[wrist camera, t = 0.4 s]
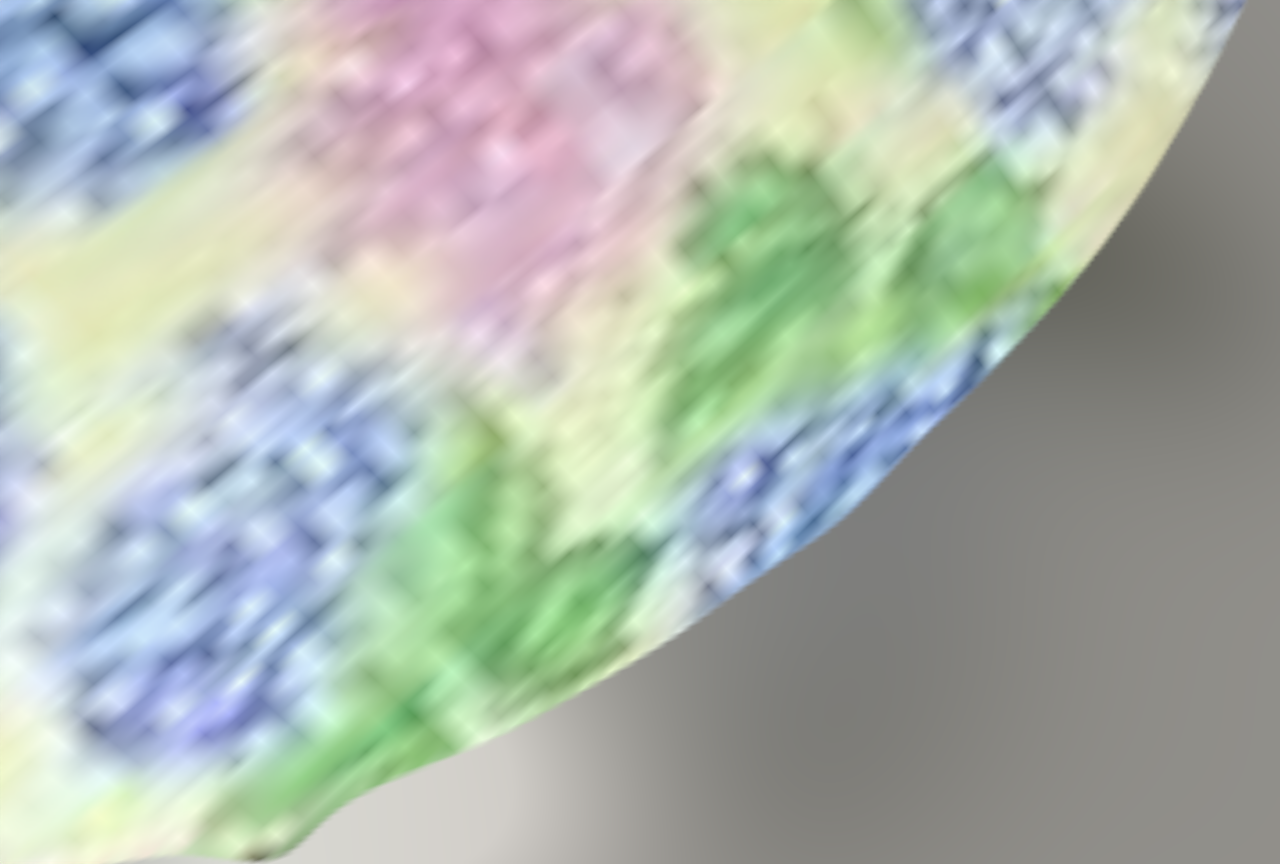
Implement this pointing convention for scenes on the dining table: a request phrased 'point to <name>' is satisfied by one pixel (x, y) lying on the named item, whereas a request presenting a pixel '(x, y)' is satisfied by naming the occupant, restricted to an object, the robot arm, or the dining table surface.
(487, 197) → the dining table surface
